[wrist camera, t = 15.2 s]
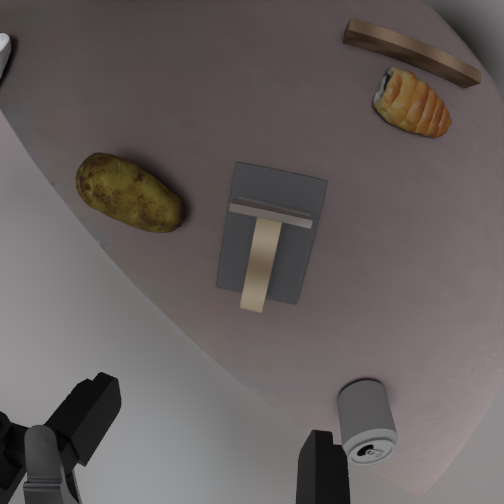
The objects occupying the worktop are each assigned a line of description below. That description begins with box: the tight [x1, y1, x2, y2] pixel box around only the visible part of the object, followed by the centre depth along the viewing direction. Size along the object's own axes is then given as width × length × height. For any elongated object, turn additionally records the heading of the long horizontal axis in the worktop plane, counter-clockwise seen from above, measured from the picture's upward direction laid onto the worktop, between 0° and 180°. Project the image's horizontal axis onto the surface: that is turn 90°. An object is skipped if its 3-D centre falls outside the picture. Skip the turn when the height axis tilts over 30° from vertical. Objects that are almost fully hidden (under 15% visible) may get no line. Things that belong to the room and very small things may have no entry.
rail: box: [343, 18, 481, 88], centre depth 23 cm, size 16×2×4 cm, turn 80°
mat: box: [216, 162, 327, 305], centre depth 34 cm, size 10×15×1 cm, turn 170°
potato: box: [76, 153, 186, 233], centre depth 31 cm, size 8×13×8 cm, turn 39°
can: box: [338, 380, 398, 465], centre depth 34 cm, size 8×8×12 cm
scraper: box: [229, 197, 313, 313], centre depth 32 cm, size 11×8×4 cm
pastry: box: [373, 66, 452, 138], centre depth 26 cm, size 9×7×4 cm
